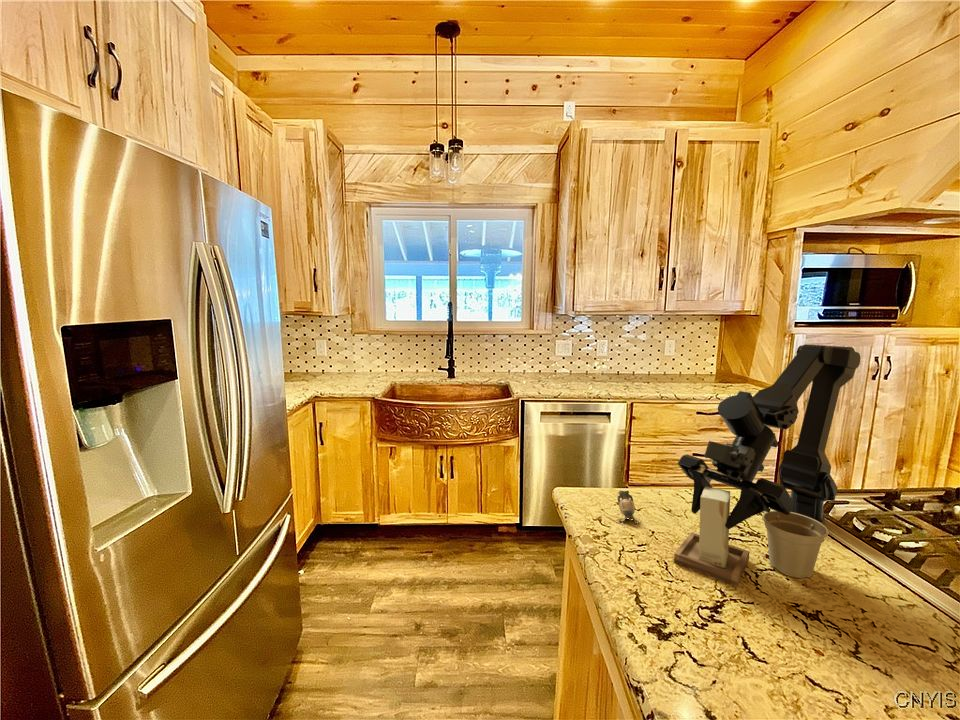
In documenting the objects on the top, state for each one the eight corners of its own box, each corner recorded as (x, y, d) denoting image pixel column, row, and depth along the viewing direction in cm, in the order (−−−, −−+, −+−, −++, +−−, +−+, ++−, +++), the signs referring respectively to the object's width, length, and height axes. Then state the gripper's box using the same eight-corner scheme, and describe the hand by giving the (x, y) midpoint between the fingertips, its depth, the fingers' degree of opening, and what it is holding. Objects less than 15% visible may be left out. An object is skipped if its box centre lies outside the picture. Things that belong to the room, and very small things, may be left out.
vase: (610, 511, 96) (613, 486, 95) (634, 514, 95) (637, 489, 94) (614, 522, 90) (617, 496, 90) (640, 525, 90) (643, 499, 89)
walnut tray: (690, 540, 83) (691, 532, 83) (748, 560, 76) (749, 551, 76) (674, 562, 76) (674, 553, 75) (736, 586, 69) (737, 576, 69)
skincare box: (725, 569, 72) (728, 503, 71) (697, 561, 74) (699, 497, 73) (728, 552, 77) (731, 490, 76) (702, 545, 80) (704, 485, 78)
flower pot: (838, 588, 68) (842, 539, 67) (774, 581, 70) (777, 534, 69) (805, 556, 77) (808, 512, 76) (750, 551, 79) (752, 508, 78)
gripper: (685, 415, 83) (646, 477, 79) (789, 438, 67) (746, 519, 63) (707, 447, 88) (671, 507, 84) (810, 476, 71) (771, 553, 67)
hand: (709, 519), depth 74 cm, fingers closed on skincare box, 6 cm apart
